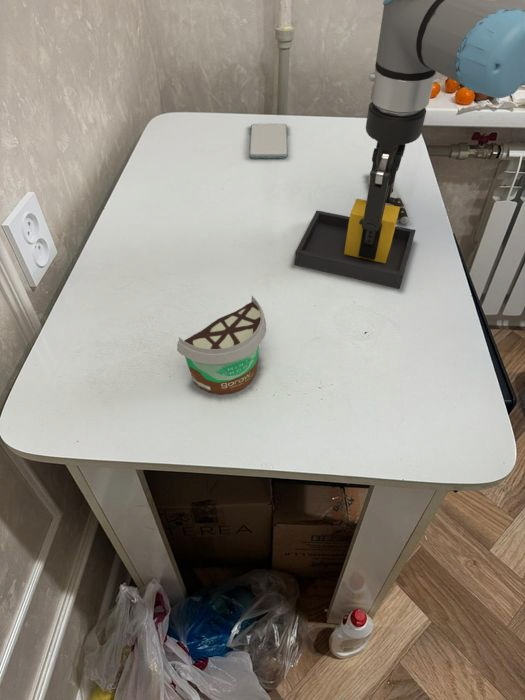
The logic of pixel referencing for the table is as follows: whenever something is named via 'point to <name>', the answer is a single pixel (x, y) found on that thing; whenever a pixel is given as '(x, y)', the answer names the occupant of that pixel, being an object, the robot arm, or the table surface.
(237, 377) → the food container
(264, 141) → the rounded grey tile
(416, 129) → the robot arm
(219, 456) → the table surface
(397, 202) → the cleaver
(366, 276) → the black shallow rectangular tray
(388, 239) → the yellow block
